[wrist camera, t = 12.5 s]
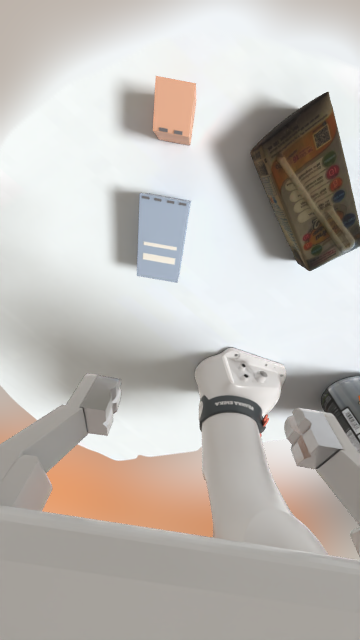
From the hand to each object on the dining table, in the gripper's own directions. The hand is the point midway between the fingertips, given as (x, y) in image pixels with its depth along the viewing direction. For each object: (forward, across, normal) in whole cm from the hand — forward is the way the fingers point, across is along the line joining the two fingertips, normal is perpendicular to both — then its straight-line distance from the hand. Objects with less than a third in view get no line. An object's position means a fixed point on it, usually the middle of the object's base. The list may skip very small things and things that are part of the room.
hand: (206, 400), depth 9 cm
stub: (+31, +6, -16) cm, 35 cm away
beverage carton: (+32, -13, -10) cm, 36 cm away
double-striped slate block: (+31, +6, -1) cm, 32 cm away
